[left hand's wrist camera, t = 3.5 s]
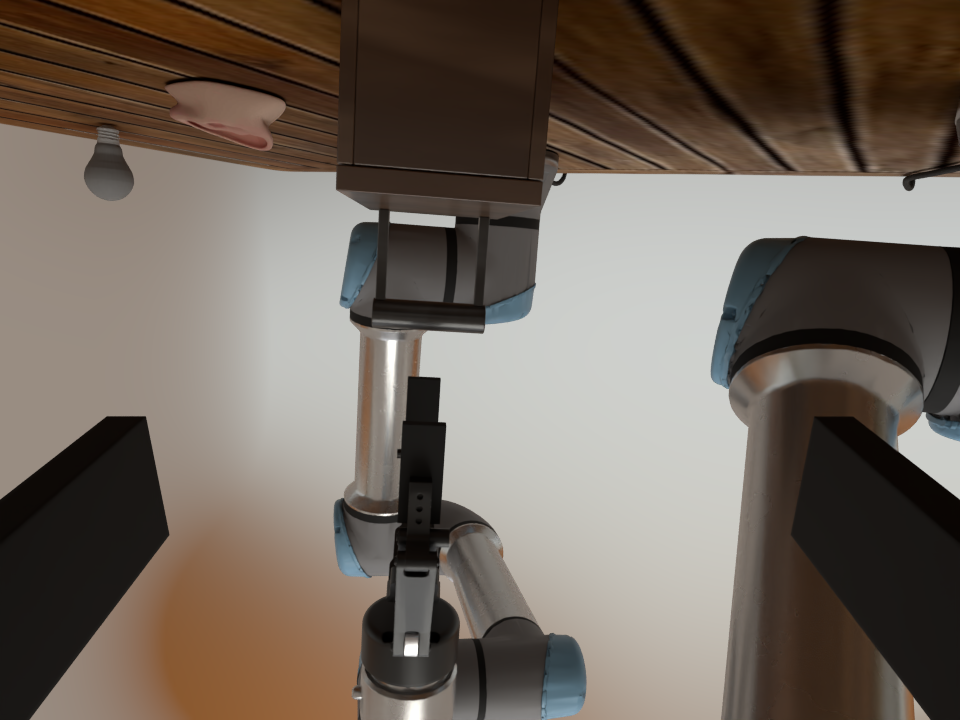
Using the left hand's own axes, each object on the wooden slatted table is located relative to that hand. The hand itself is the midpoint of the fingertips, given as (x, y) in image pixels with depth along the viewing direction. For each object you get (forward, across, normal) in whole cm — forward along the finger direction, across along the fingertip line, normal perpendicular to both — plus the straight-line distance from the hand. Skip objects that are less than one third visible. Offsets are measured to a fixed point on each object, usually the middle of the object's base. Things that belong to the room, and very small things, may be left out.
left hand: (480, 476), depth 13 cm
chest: (+29, +2, -13) cm, 32 cm away
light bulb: (+82, +51, -7) cm, 97 cm away
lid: (+28, +3, -3) cm, 28 cm away
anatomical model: (+57, +25, -9) cm, 63 cm away
